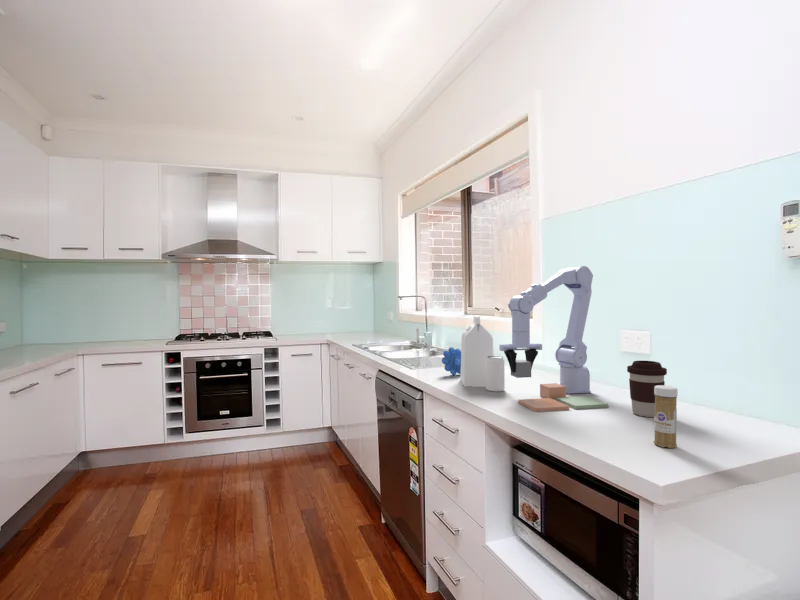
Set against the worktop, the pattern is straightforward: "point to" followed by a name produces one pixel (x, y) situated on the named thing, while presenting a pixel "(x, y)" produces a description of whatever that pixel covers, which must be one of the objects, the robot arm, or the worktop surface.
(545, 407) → the terracotta pad
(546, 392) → the block
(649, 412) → the coffee cup
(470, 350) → the milk
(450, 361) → the grapes
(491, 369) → the can
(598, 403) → the sage pad
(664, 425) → the sprinkles bottle
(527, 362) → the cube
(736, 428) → the worktop surface
